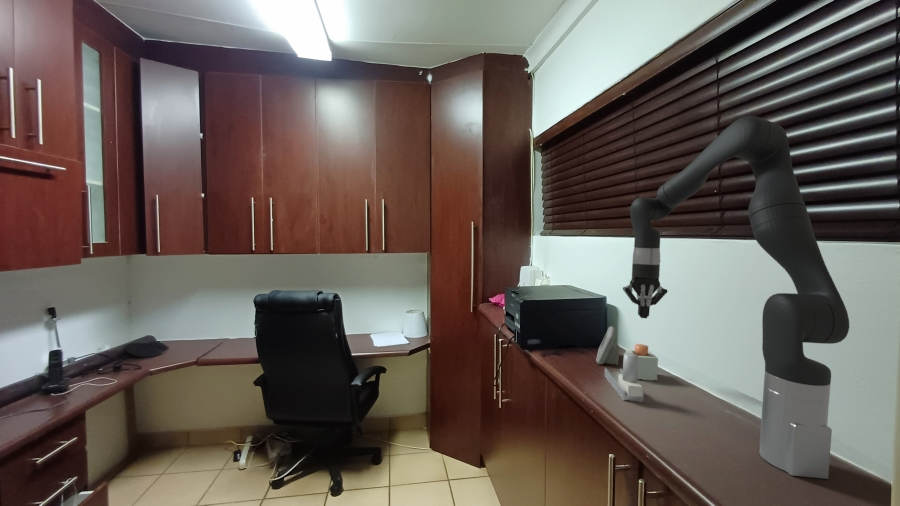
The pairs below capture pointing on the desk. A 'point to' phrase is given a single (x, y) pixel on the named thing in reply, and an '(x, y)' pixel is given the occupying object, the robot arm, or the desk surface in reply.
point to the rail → (613, 379)
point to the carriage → (630, 375)
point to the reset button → (641, 350)
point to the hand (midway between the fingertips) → (643, 317)
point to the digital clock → (608, 348)
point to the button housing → (646, 366)
